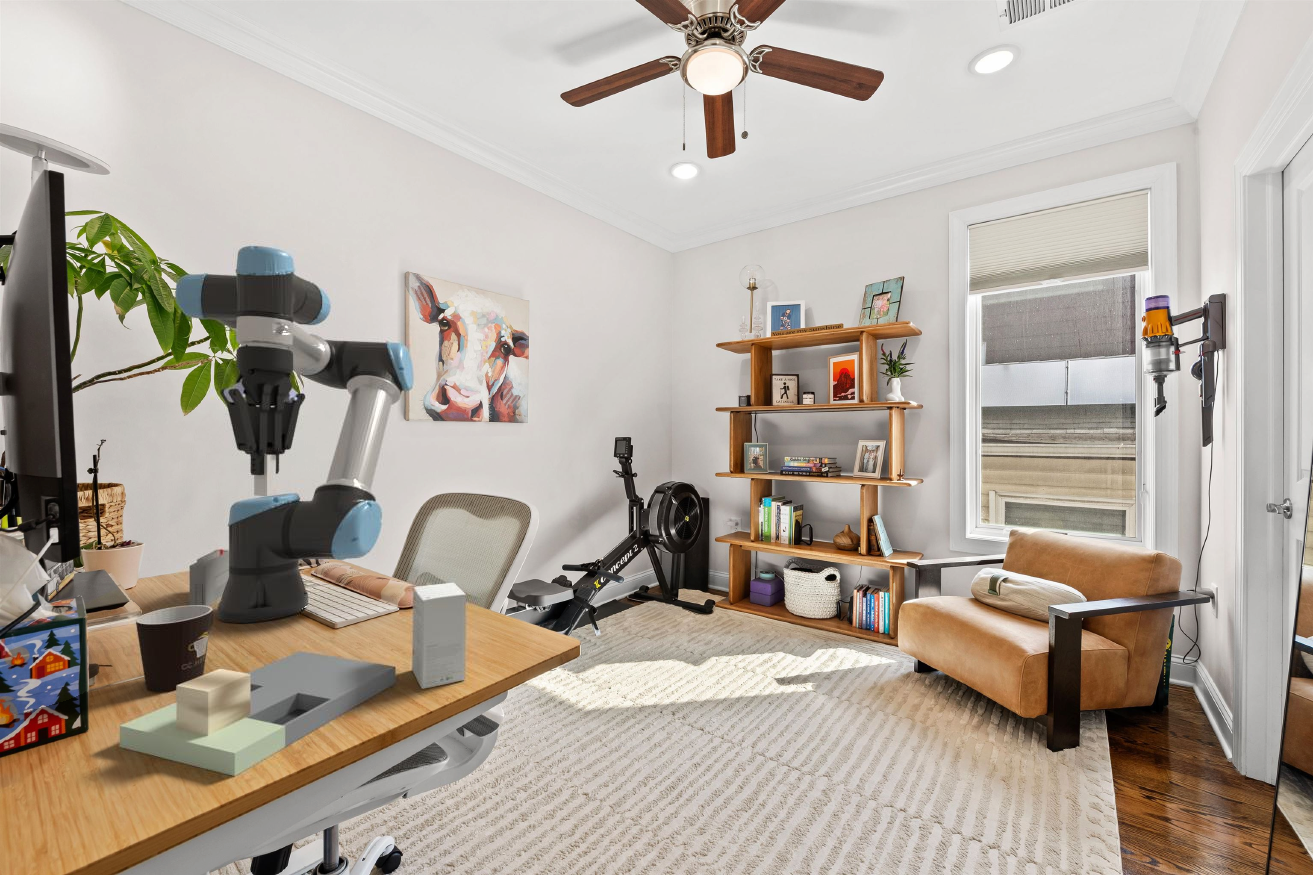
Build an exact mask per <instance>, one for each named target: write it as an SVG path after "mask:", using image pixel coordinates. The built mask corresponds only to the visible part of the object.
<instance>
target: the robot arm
mask: <svg viewBox="0 0 1313 875" xmlns="http://www.w3.org/2000/svg"><path fill="white" fill-rule="evenodd" d="M293 258H294V257H293V256H292V255H291V254H290V253H288V252H286V251H284V250H281V249H278V248H276V247H270V246H263V245H262V246H261V245H248V246H247V245H246V246H242V247H241V248H240V249H239V250H238V252H237V258H236V269H235V274H236V275H232V274H231V275H230V274H228V275H227V274H211V273H206V272H205V273H203V274H202V273H201V274H197V273H195V274H192V273H191V274H185V275H183V276H182V277H180V278H179V279H178V280H177V282H176V285H175V291H174V294H175V301H176V304H177V306H178V308H179V309H180V310H181V312H182V313H183V314H184V315H185V316H188V317H189V318H192V319H193V318H194V319H201V320H215V321H217V322H219V323H220V324H223V325H224V326H227V327H228V328H230V329H231V330H233V331H235V333H236V334H235V335H236V336H235V338H236V339H235V342H236V343H237V344H239V345H240V346H238V347H237V348H236V369H237V370H238V372H239V373H238V376H237V378H236V381H235V384H233V385H232V386H231V387H229V388H222V389H221V390H220V391H219V393H220V396H221V397H222V399H223V401H224V402H225V403H226V406H227V411H228V416H229V419H230V424H231V426H232V427H231V428H232V431H233V432H232V433H233V436H234V441H235V444H236V448H237V450H238V451H240V452H241V451H242V452H244V453H245V454H246V455H249V456H250V463H249V464H250V469H249V470H250V471H249V472H250V474H251V476H254V477H253V481H254V482H253V484H254V485H253V488H254V489H253V496H255V497H253V498H248V499H243V500H238V501H236V502H234V503H233V504H232V505H231V507H230V509H229V518H228V523H227V527H228V550H229V578H228V581H227V584H226V586H225V589H224V592H223V595H222V598H220V600H219V601H220V602H219V603H218V605H217V619H218V620H219V621H222V622H226V623H235V624H237V623H239V624H242V623H243V624H245V623H247V624H248V623H257V622H267V621H271V620H272V621H273V620H278V619H282V618H286V617H289V616H293V615H296V614H299V613H300V612H302V611H301V610H302V608H304V607H305V606H307V605H308V606H309V593H308V591H307V590H306V586H305V583H304V580H303V577H302V575H301V572H300V567H299V564H300V562H299V560H338V561H344V560H347V559H348V560H349V559H360V558H363V557H364V556H366V555H368V554H369V553H370V552H371V551H372V550H373V548H374V547H375V545H376V544H377V541H378V538H379V537H380V533H381V528H382V523H383V522H382V519H383V511H382V508H381V505H380V504H379V503H378V502H377V498H376V496H375V495H374V494H373V492H372V485H373V482H374V477H375V473H376V468H377V464H378V460H379V457H380V452H381V449H382V444H383V441H384V437H385V432H386V428H387V425H388V424H387V423H388V419H389V417H390V416H389V415H390V412H391V408H392V405H394V404H396V403H398V402H399V400H400V399H401V397H402V396H401V395H402V391H403V392H409V391H411V390H413V387H414V377H415V376H414V367H413V362H412V357H411V354H410V351H409V350H408V347H407V346H406V345H404V343H401V342H391V341H385V342H379V341H378V342H377V341H375V342H374V341H357V340H356V341H355V340H335V339H334V340H332V339H325V338H323V337H322V336H319V335H317V334H312V333H308V332H307V331H305V330H304V329H303V328H302V327H300V326H298V325H305V326H316V325H319V324H321V323H323V322H324V321H325V320H326V319H327V318H328V316H329V314H330V312H331V300H330V298H329V296H328V294H327V293H326V291H325V290H323V289H322V288H321V287H319V286H318V285H317V284H315V283H314V282H311V281H309V280H306V279H304V278H303V277H301V276H298V275H296V274H295V272H296V268H295V265H294V264H295V263H294V259H293ZM293 372H295V373H297V374H298V375H300V376H302V377H304V378H306V379H307V380H311V381H312V382H315V383H317V384H321V385H323V386H326V387H328V388H329V387H330V388H334V389H338V390H347V392H348V394H349V395H350V400H349V403H348V406H347V409H346V412H345V416H344V420H343V423H342V427H341V430H340V433H339V437H338V440H337V443H336V447H335V451H334V454H333V458H332V461H331V465H330V468H329V471H328V475H327V478H326V481H325V483H323V484H320V485H319V486H317V487H316V488H315V490H314V493H313V497H312V499H311V500H301V497H300V495H299V494H298V493H296V492H295V493H282V494H276V489H277V488H276V487H277V485H276V484H277V480H276V479H277V478H276V477H277V474H279V472H280V455H283V454H284V455H285V453H286V451H289V450H291V448H292V445H293V440H294V437H295V436H294V435H295V432H296V427H297V423H298V418H299V413H300V409H301V406H302V405H303V403H304V401H305V399H306V395H305V393H301V392H297V391H296V390H295V389H294V388H293V382H292V380H291V374H292V373H293ZM256 496H258V497H256Z"/></svg>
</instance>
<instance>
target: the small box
mask: <svg viewBox="0 0 1313 875" xmlns="http://www.w3.org/2000/svg"><path fill="white" fill-rule="evenodd" d="M412 590H413V593H412V596H413V597H412V653H411V655H412V656H411V670H412V672H413V674H414V676H415V678H416V681H417V682H418V685H419V686H420V688H421V689H422V690H424V689H428V688H429V689H430V688H433V687H438V686H442V685H443V686H444V685H448V684H452V683H456V682H462V681H465V680H466V664H467V663H466V662H467V661H466V651H467V648H466V647H467V646H466V643H467V642H466V640H467V638H466V636H467V635H466V634H467V632H466V631H467V626H466V624H467V594H466V593H465V592H464V591H463V590H462V589H461V587H459V586H458V585H457V584H456V583H455V582H447V583H438V584H437V583H436V584H429V585H420V586H413V589H412Z"/></svg>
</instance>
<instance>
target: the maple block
mask: <svg viewBox="0 0 1313 875" xmlns="http://www.w3.org/2000/svg"><path fill="white" fill-rule="evenodd" d="M247 673H248V672H239V671H235V670H229V669H224V668H218V669H216V670H213V671H210V672H208V673H205V674H203V675H202V676H200V677H197V678H195V679H192V680H190V681H187V682H184V683H182V684H179V685H177V686H176V690H175V691H176V696H175V697H176V698H175V700H176V701H175V703H176V728H177V729H181V730H185V731H190V732H194V733H199V734H203V735H208V736H209V735H211V734H213V733H215V732H217V731H219V730H221V729H223V728H225V727H227V726H229V725H231V724H233V723H235V722H237V721H239V720H241V719H243V718H245V717H247V716H249V715H250V676H251V674H247Z"/></svg>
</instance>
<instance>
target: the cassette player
mask: <svg viewBox="0 0 1313 875" xmlns="http://www.w3.org/2000/svg"><path fill="white" fill-rule="evenodd" d="M228 578H229V549H223V548H222V549H215V550H213V551H212V552H209V553H208V554H205V555H203V556H201V557H199V558H197V559H196V562H195V563H192V564H190V565H189V605H204V606H210V607H211V606H212V605H214V604H215V603H216V602H218V601H220V600H221V598H222V595H223V592H224V589H225V586H226V584H227V581H228Z"/></svg>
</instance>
